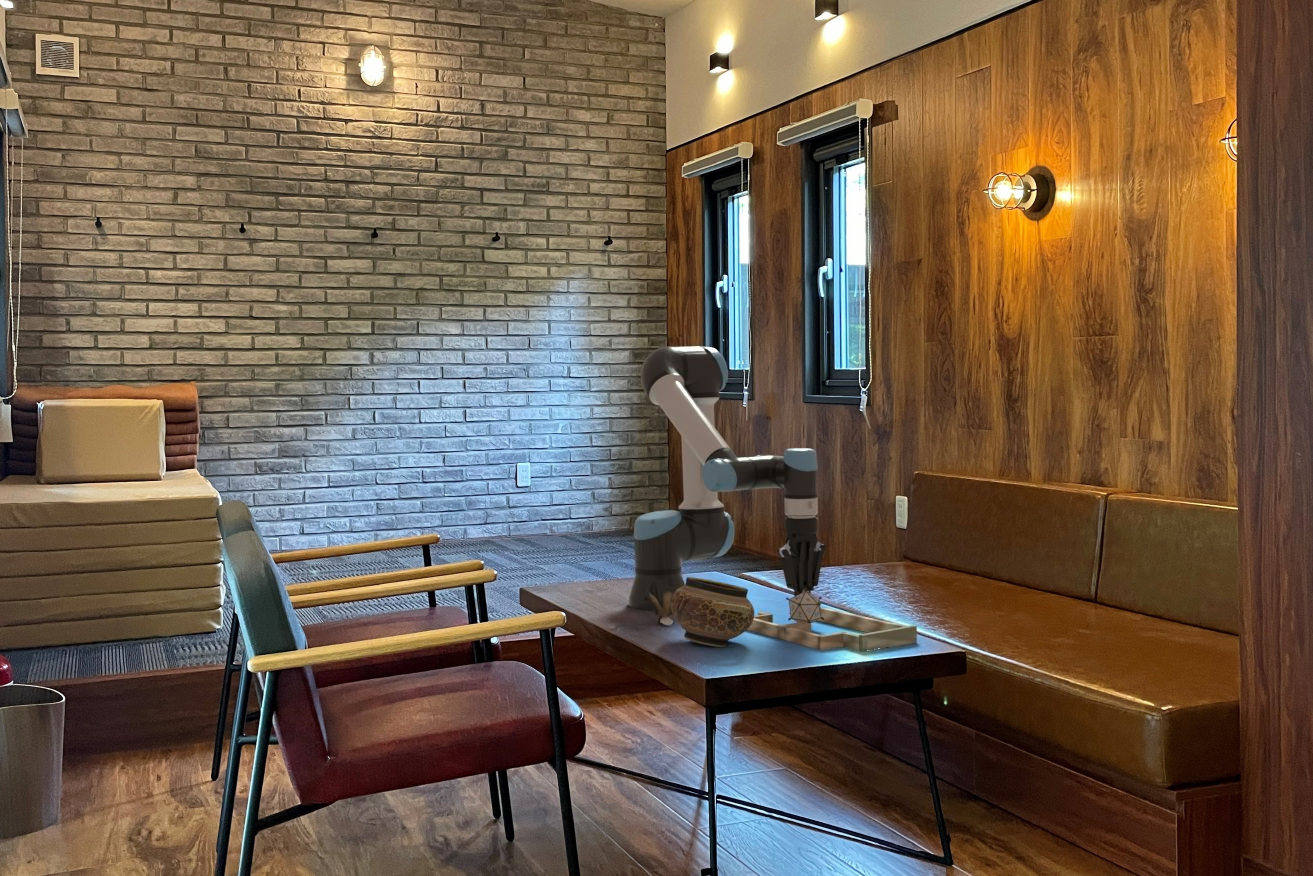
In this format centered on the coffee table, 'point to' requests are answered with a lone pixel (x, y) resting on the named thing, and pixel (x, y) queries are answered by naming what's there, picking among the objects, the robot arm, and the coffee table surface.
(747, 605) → the ceramic bowl
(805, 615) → the game die
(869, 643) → the brown wall maze
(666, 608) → the tan upright piece
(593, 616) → the coffee table surface
